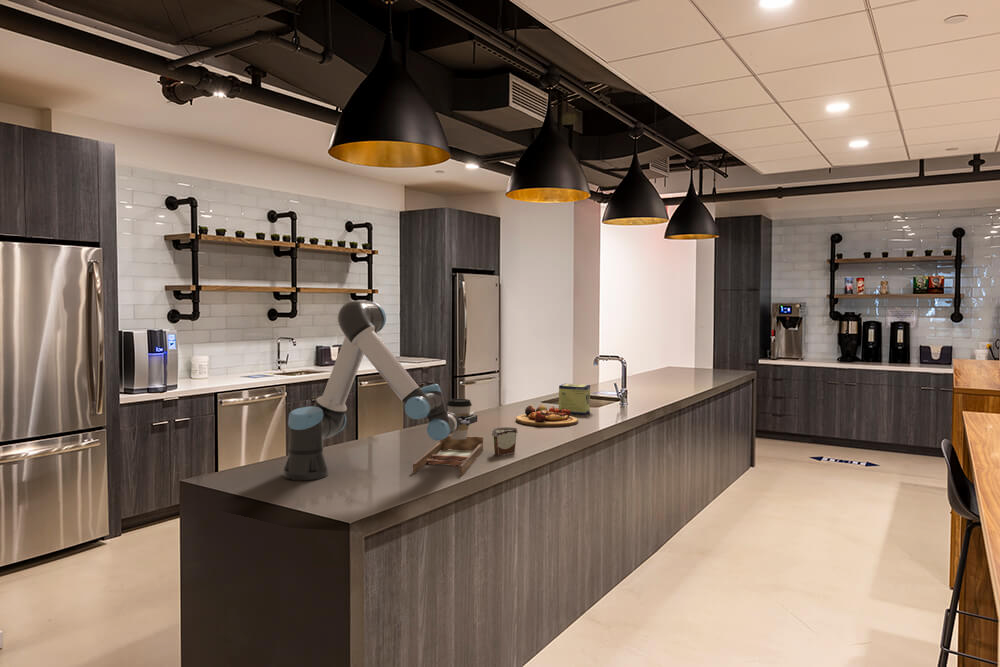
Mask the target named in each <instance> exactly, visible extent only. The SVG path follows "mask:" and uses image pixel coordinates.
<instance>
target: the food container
mask: <svg viewBox="0 0 1000 667" xmlns="http://www.w3.org/2000/svg"><path fill="white" fill-rule="evenodd" d="M517 434H518V428H517V427H506V426H505V427H504V426H503V427H496V428H493V430H492V433H491V436H492V437H493V448H494V455H495V454H496V455H498V456H497V457H500V456H499V455H502V456H505V455H504V454H507V455H510V454H509V453H511V454H515V453H516V446H517V445H516V443H517ZM514 452H515V453H514ZM496 455H495V456H496Z"/></svg>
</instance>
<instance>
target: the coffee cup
mask: <svg viewBox="0 0 1000 667" xmlns="http://www.w3.org/2000/svg"><path fill="white" fill-rule="evenodd" d="M446 406H447V410H448V411H447V412H451V413H454V414H456V415H457V416H467V415H469V414H470V413H471V407H472V406H473V405H472V402H471V399H468V398H451V399H448V401H447V403H446ZM469 426H470V425H465V423H463V424H462V425H459V427H458V429H457V430H456V431H454V432H453V433H451V434H450V435H451V439H457V440H461V439H466V438H467V436H468V431H469Z"/></svg>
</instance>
